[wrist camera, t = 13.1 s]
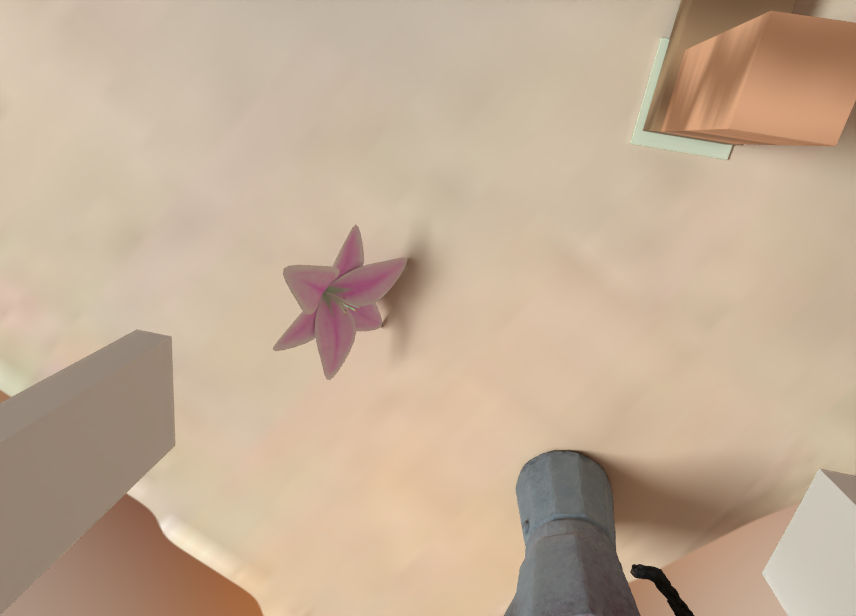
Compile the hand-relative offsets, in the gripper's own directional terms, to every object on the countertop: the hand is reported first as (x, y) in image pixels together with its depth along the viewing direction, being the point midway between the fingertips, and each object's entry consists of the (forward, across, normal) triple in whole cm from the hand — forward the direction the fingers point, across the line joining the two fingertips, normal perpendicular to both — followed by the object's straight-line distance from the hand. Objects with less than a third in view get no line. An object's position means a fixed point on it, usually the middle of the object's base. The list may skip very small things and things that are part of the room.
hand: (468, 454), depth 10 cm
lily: (+31, -10, -8) cm, 34 cm away
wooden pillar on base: (+30, +13, +16) cm, 37 cm away
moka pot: (+31, +13, -24) cm, 41 cm away
